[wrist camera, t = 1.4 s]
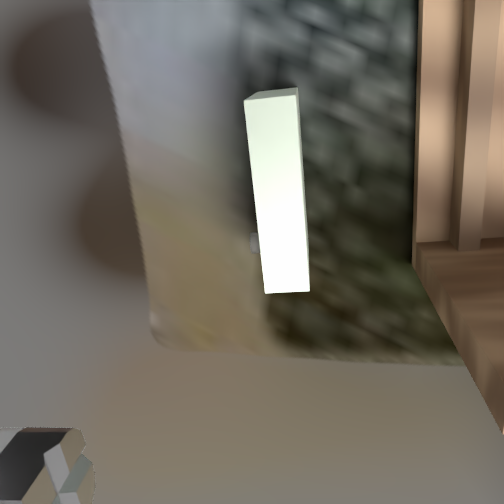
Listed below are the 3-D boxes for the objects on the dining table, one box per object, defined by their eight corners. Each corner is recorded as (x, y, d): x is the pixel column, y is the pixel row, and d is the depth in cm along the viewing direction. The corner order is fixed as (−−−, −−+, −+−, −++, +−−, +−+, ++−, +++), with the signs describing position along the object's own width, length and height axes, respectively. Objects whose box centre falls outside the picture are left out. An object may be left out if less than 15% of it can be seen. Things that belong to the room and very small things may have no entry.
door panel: (244, 93, 27) (226, 102, 21) (297, 87, 27) (296, 94, 20) (261, 246, 31) (250, 294, 24) (308, 242, 30) (309, 291, 24)
